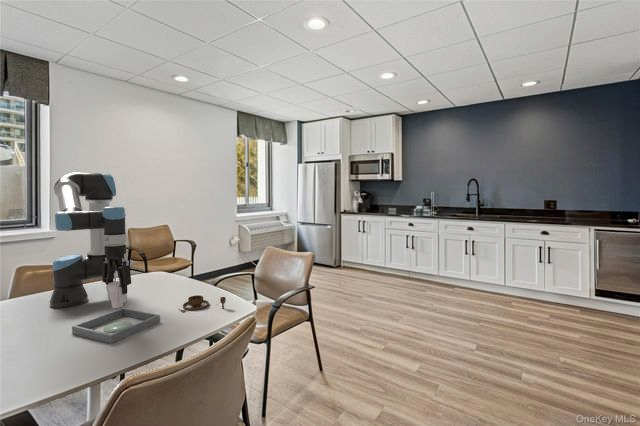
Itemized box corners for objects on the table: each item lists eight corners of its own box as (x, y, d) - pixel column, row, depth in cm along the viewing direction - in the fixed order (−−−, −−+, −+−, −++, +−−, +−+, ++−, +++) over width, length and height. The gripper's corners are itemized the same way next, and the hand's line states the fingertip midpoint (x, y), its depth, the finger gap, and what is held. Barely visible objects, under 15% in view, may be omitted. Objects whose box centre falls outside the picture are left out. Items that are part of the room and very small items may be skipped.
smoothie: (113, 303, 137) (112, 270, 136) (129, 303, 138) (128, 270, 137) (104, 309, 131) (103, 274, 130) (121, 308, 131) (120, 274, 130)
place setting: (206, 299, 171) (206, 288, 171) (228, 309, 158) (228, 297, 158) (173, 308, 158) (172, 296, 158) (194, 319, 145) (193, 306, 144)
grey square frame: (72, 333, 129) (71, 326, 129) (123, 314, 149) (123, 307, 149) (111, 343, 121) (110, 335, 121) (160, 321, 141) (159, 314, 141)
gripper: (89, 244, 133) (92, 300, 134) (123, 247, 126) (125, 306, 127) (107, 242, 140) (109, 295, 141) (140, 244, 133) (142, 300, 134)
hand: (117, 300), depth 134 cm, fingers closed on smoothie, 6 cm apart
